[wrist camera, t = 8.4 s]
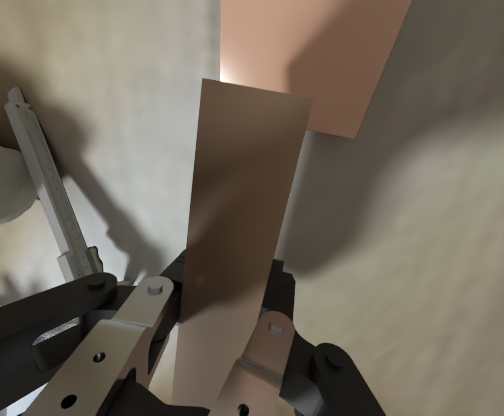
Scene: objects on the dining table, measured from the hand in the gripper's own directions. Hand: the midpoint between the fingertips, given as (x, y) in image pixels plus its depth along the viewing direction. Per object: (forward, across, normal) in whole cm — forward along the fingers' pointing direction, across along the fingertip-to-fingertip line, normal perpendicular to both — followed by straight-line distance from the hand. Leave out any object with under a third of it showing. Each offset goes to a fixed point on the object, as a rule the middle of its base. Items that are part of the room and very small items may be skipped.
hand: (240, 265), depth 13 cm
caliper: (+7, +16, +3) cm, 18 cm away
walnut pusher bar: (+1, 0, 0) cm, 1 cm away
